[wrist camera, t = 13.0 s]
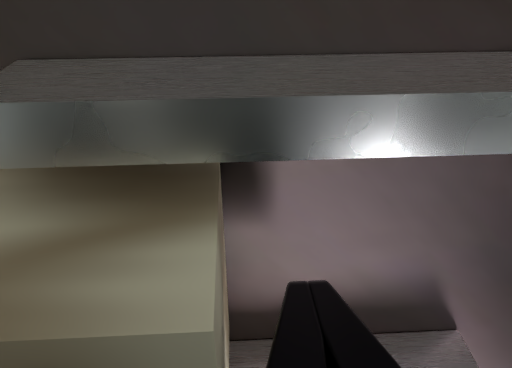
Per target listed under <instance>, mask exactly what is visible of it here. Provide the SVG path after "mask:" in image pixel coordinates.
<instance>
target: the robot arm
mask: <svg viewBox="0 0 512 368" xmlns="http://www.w3.org/2000/svg"><path fill="white" fill-rule="evenodd" d="M266 368H401V366H400V365H399V364H398V363H397V362H396V361H395V359H394V358H393V357H392V356H391V355H390V353H389V352H388V351H387V350H386V349H385V348H384V346H383V345H382V344H381V343H380V342H379V341H378V339H377V338H376V337H375V336H374V335H373V334H372V332H371V331H370V330H369V329H368V328H367V327H366V325H365V324H364V323H363V322H362V321H361V320H360V318H359V317H358V316H357V315H356V314H355V313H354V311H353V310H352V309H351V308H350V307H349V306H348V304H347V303H346V302H345V301H344V300H343V299H342V297H341V296H340V295H339V294H338V293H337V292H336V290H335V289H334V288H333V287H332V286H331V285H330V283H329V282H327V281H325V280H318V281H308V282H306V281H293V282H289V283H288V285H287V288H286V292H285V296H284V299H283V303H282V307H281V311H280V315H279V319H278V323H277V326H276V330H275V334H274V338H273V342H272V346H271V350H270V353H269V357H268V361H267V365H266Z"/></svg>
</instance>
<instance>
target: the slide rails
mask: <svg viewBox="0 0 512 368" xmlns="http://www.w3.org/2000/svg"><path fill="white" fill-rule="evenodd" d="M488 154H512V51H503V52H446V53H390V54H333V55H276V56H220V57H163V58H107V59H50V60H16V61H15V62H13V63H12V64H10V65H9V66H7V67H6V68H4V69H3V70H1V71H0V169H16V168H50V167H83V166H117V165H151V164H185V163H218V162H252V161H286V160H320V159H353V158H387V157H421V156H455V155H488ZM373 335H374V336H375V337H376V338H377V339H378V341H379V342H380V343H381V344H382V345H383V346H384V348H385V349H386V350H387V351H388V352H389V353H390V355H391V356H392V357H393V358H394V359H395V361H396V362H397V363H398V364H399V365H400V366H401V368H479V367H478V365H477V363H476V361H475V359H474V358H473V356H472V354H471V352H470V351H469V349H468V347H467V345H466V343H465V342H464V340H463V338H462V336H461V334H460V333H459V331H458V330H450V331H430V332H409V333H389V334H373ZM272 342H273V339H269V340H249V341H229V368H266V365H267V361H268V357H269V353H270V350H271V346H272Z"/></svg>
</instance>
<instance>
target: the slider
mask: <svg viewBox="0 0 512 368" xmlns="http://www.w3.org/2000/svg"><path fill="white" fill-rule="evenodd" d="M0 368H229V312H228V295H227V278H226V261H225V243H224V226H223V209H222V192H221V174H220V162H218V163H185V164H151V165H117V166H83V167H50V168H16V169H0Z"/></svg>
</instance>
